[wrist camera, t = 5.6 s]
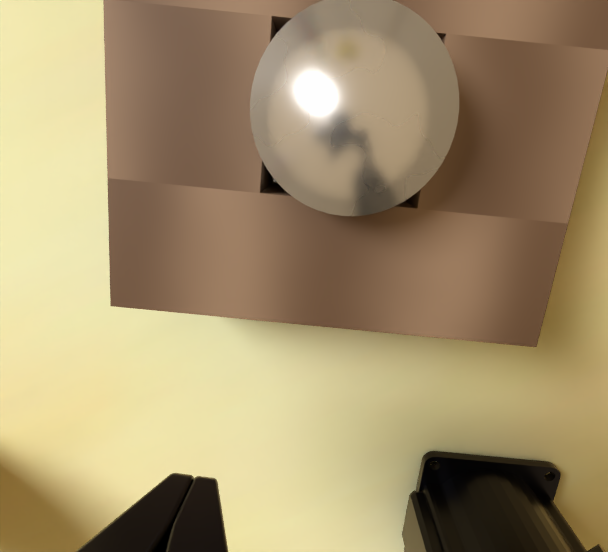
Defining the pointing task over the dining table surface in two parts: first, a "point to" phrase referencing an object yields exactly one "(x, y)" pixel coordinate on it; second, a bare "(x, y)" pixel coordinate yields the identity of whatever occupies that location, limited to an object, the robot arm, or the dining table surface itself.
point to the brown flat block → (333, 228)
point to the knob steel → (354, 105)
